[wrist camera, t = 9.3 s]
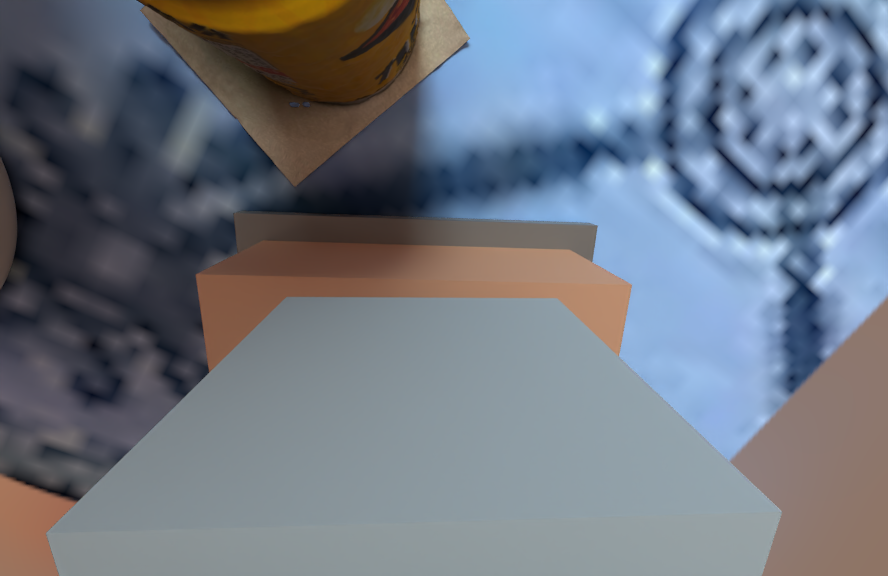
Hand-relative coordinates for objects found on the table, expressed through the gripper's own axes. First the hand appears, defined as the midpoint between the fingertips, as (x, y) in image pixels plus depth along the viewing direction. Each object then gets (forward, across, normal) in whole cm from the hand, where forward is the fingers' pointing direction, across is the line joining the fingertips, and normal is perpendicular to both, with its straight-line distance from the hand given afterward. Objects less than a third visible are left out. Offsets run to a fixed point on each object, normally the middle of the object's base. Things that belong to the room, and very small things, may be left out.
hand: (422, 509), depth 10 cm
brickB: (+1, 0, 0) cm, 1 cm away
